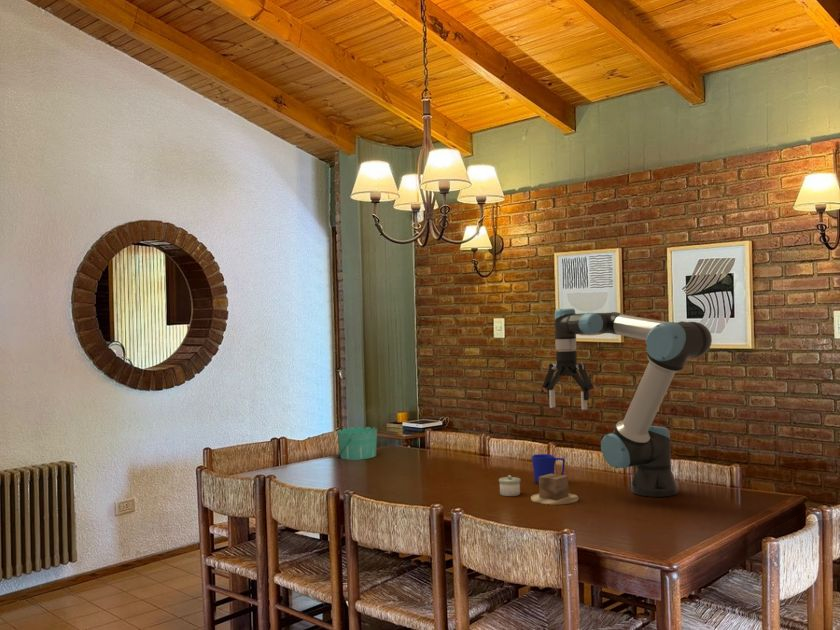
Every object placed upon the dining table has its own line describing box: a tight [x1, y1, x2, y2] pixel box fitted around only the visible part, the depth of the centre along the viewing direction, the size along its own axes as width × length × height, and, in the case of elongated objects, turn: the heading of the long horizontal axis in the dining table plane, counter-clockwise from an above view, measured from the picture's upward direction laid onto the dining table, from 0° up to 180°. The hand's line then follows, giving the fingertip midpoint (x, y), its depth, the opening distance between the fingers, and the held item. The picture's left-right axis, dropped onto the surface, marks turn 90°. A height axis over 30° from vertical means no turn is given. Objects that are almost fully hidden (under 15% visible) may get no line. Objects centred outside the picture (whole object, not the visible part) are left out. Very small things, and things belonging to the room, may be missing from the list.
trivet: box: [530, 492, 580, 506], centre depth 253 cm, size 16×16×1 cm
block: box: [538, 473, 569, 500], centre depth 253 cm, size 7×7×7 cm
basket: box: [336, 426, 378, 461], centre depth 350 cm, size 19×18×13 cm
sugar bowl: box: [498, 474, 521, 497], centre depth 263 cm, size 8×8×7 cm
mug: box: [531, 453, 566, 484], centre depth 279 cm, size 8×12×10 cm
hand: (568, 408), depth 274 cm, fingers open, 13 cm apart
